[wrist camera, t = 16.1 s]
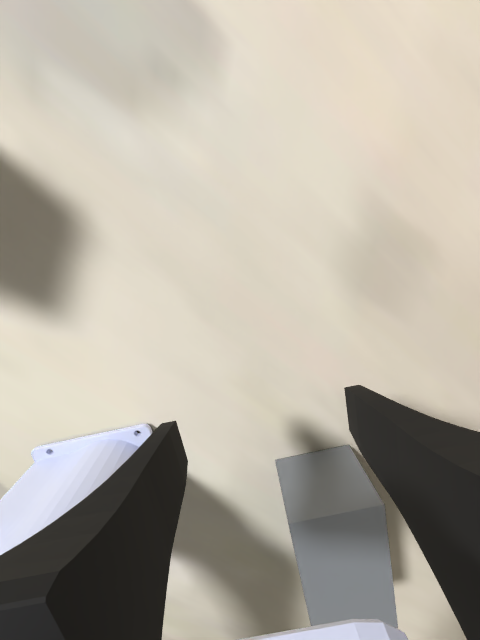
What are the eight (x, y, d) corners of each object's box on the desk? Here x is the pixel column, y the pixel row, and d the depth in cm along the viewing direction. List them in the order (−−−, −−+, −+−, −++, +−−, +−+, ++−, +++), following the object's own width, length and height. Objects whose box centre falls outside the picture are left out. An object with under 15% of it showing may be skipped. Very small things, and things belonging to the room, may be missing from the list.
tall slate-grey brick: (297, 562, 26) (315, 643, 21) (275, 460, 23) (288, 523, 18) (363, 549, 26) (397, 628, 21) (348, 444, 23) (384, 504, 18)
